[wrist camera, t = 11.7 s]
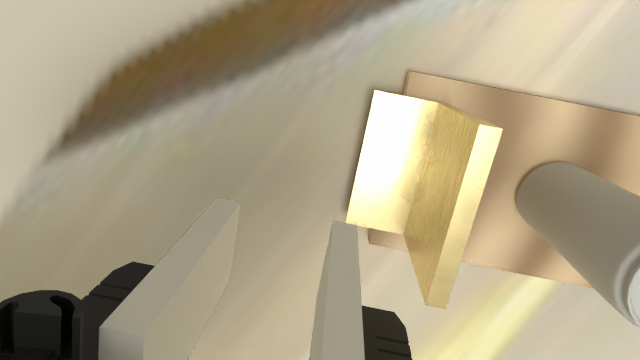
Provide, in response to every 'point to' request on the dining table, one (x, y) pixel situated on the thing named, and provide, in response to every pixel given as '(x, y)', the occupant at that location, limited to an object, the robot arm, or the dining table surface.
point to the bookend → (423, 182)
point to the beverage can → (588, 229)
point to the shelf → (529, 167)
